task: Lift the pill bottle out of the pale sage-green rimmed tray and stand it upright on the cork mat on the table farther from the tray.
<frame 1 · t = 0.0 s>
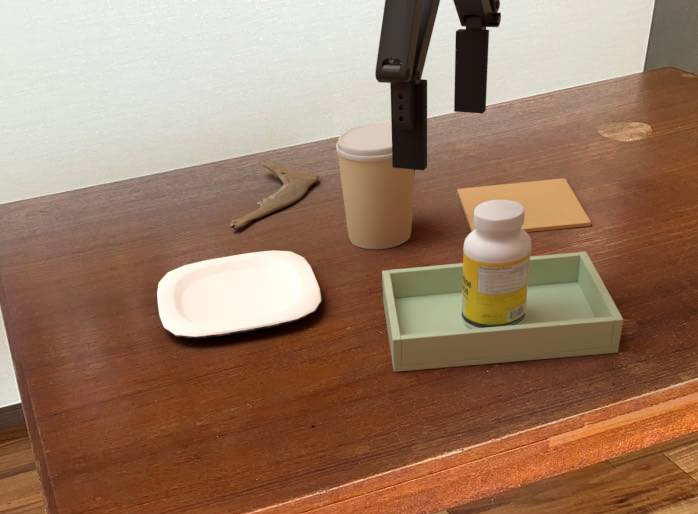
hand: (441, 138, 76), 20 cm above the table, tool pointing down, fingers open, 13 cm apart
pill bottle: (492, 321, 91), resting on tray
tray: (492, 325, 91), on the table
plate: (239, 304, 101), on the table
coffee cup: (379, 237, 110), on the table
cork mat: (520, 208, 111), on the table
jawbone: (256, 202, 122), on the table
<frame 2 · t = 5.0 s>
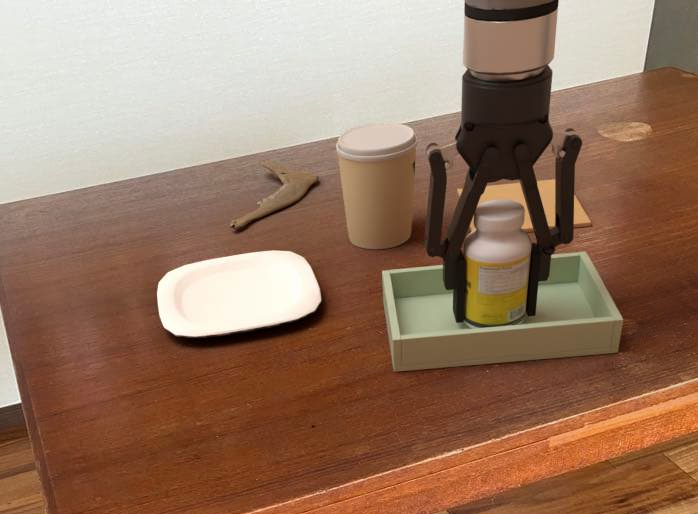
hand: (493, 312, 90), 1 cm above the table, tool pointing down, fingers closed on pill bottle, 6 cm apart
pill bottle: (493, 321, 91), resting on tray, touching gripper
everything else where it was.
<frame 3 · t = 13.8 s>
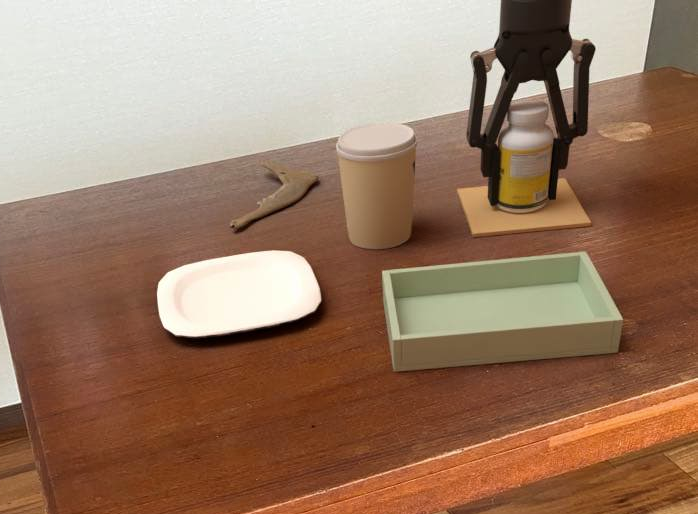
hand: (521, 198, 111), 1 cm above the table, tool pointing down, fingers closed on pill bottle, 6 cm apart
pill bottle: (520, 206, 111), resting on cork mat, touching gripper
everything else where it was.
when the fingers open (1 cm above the table, at t = 13.8 s): pill bottle stays where it is, resting on cork mat.
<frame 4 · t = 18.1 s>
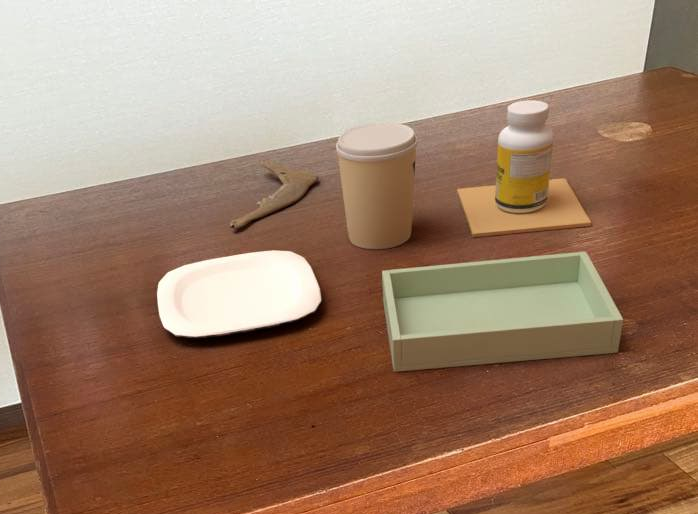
pill bottle: (520, 206, 111), resting on cork mat
everything else where it was.
at the end: pill bottle inside the target area on the cork mat (0.0 cm from its centre), point 0.3 cm above the cork mat's base; pill bottle tilted 0°; pill bottle touching cork mat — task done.
